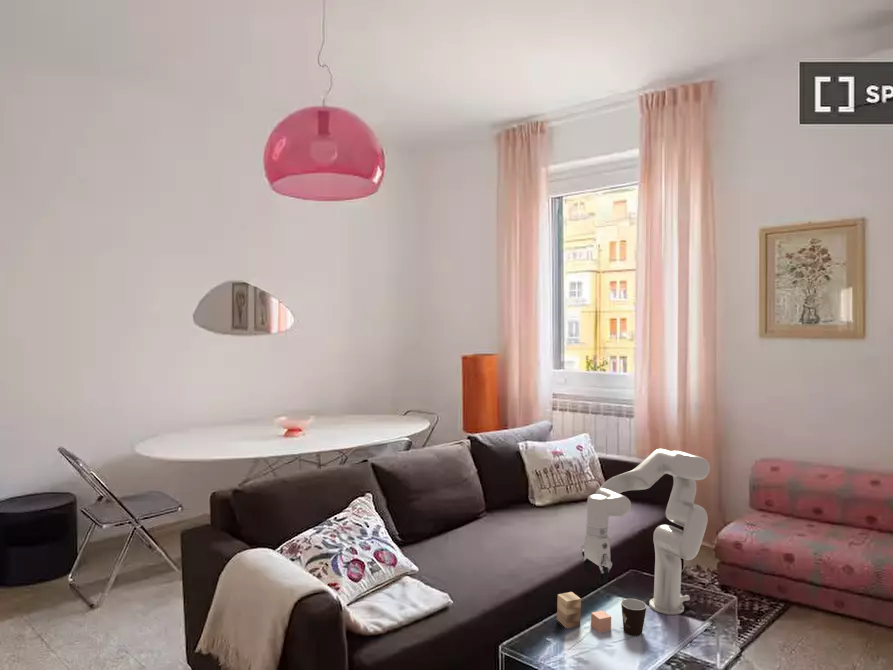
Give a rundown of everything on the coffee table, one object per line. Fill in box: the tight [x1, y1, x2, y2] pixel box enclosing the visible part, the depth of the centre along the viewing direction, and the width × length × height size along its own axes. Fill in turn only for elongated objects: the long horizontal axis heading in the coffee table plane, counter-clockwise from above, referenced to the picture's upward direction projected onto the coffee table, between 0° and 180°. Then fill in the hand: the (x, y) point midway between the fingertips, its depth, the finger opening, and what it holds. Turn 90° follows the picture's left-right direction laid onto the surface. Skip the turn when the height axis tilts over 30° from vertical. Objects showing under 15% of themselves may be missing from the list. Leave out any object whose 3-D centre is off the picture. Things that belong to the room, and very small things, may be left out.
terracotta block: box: [590, 610, 612, 633], centre depth 239 cm, size 5×5×5 cm
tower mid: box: [556, 591, 582, 615], centre depth 241 cm, size 6×6×5 cm
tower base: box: [556, 608, 581, 629], centre depth 242 cm, size 6×6×5 cm
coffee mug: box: [620, 598, 648, 637], centre depth 238 cm, size 12×9×10 cm
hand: (595, 577), depth 237 cm, fingers open, 9 cm apart
